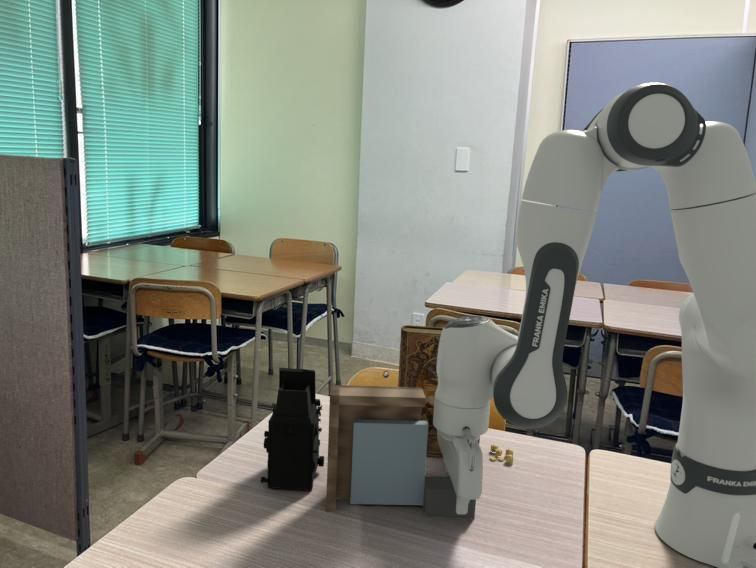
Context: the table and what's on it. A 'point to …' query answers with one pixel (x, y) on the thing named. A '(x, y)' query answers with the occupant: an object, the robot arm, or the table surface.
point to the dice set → (499, 452)
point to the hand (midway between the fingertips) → (455, 496)
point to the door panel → (388, 462)
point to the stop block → (443, 499)
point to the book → (422, 373)
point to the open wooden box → (361, 405)
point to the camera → (294, 432)
